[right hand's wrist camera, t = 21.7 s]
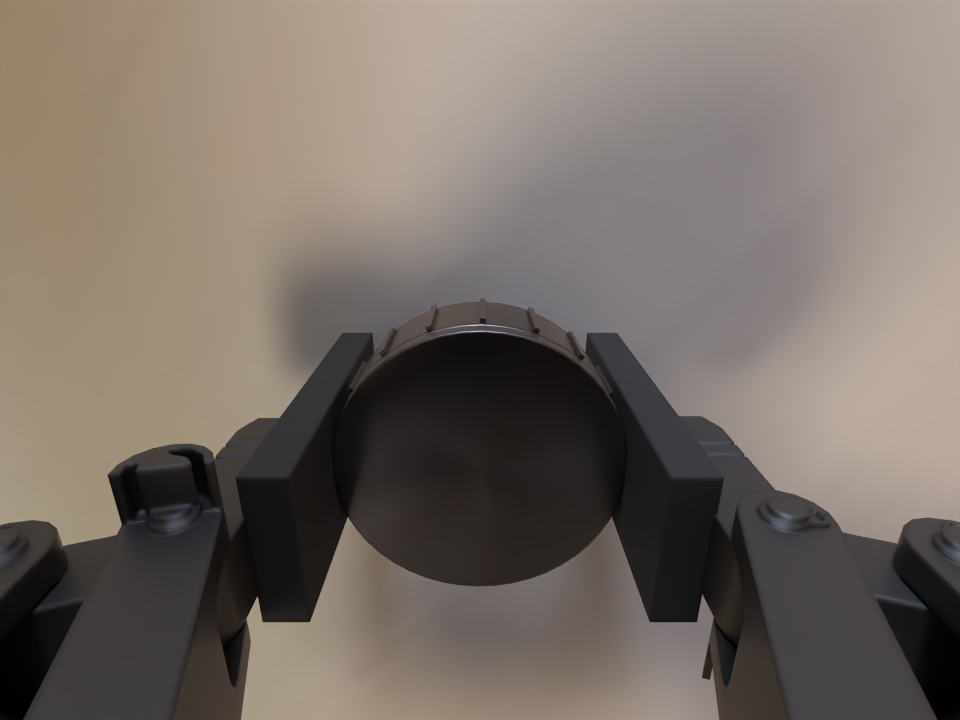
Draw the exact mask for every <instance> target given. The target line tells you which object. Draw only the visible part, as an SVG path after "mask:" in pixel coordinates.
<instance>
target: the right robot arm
mask: <svg viewBox="0 0 960 720" xmlns="http://www.w3.org/2000/svg"><path fill="white" fill-rule="evenodd" d="M373 354H374V347H373V334H372V333H342V335H341V336H340V337H339V339H338V340H337V341H336V343H335V344H334V345H333V347H332V348H331V350H330V351H329V352H328V354H327V355H326V356H325V358H324V359H323V360H322V362H321V363H320V364H319V366H318V367H317V368H316V370H315V371H314V372H313V374H312V375H311V376H310V378H309V379H308V381H307V382H306V383H305V385H304V386H303V387H302V389H301V390H300V391H299V393H298V394H297V395H296V397H295V398H294V399H293V401H292V402H291V403H290V405H289V406H288V407H287V409H286V410H285V412H284V413H283V414H282V416H281V417H280V418H258V419H256V420H254V421H253V422H251V423H249V424H248V425H246V426H244V427H243V428H241V429H239V430H238V431H237V432H236V433H235V434H234V436H233V437H232V438H231V439H230V440H229V441H228V443H227V444H226V447H223V448H222V449H221V451H220V452H219V453H218V454H217V455H216V459H214V457H213V453H212V452H211V451H210V450H209V449H207V448H206V447H204V446H200V445H194V444H173V445H168V446H163V447H158V448H153V449H150V450H148V451H145V452H142V453H139V454H137V455H134V456H132V457H130V458H129V459H127V460H125V461H123V462H122V463H120V464H118V465H117V466H116V467H115V468H114V469H113V470H112V471H111V472H110V473H109V474H108V478H109V481H110V485H111V488H112V492H113V495H114V498H115V502H116V505H117V509H118V512H119V516H120V519H121V523H122V526H121V528H120V530H119V532H118V534H117V535H115V536H111V537H107V538H102V539H97V540H92V541H86V542H81V543H76V544H71V545H66V546H63V545H62V542H61V539H60V537H59V534H58V531H57V528H56V527H54V526H53V525H51V524H50V523H49V522H43V521H34V520H31V521H23V522H16V523H8V524H3V525H1V526H0V720H241V714H242V706H243V698H244V690H245V682H246V674H247V667H248V659H249V651H250V643H251V642H250V635H249V629H248V624H247V619H246V618H247V616H248V614H249V612H250V610H251V608H252V606H253V604H254V602H255V600H256V598H257V596H258V599H259V604H260V610H261V615H262V620H263V622H310V620H311V617H312V615H313V612H314V609H315V606H316V603H317V601H318V598H319V595H320V592H321V590H322V587H323V584H324V581H325V578H326V576H327V573H328V570H329V567H330V564H331V562H332V559H333V556H334V553H335V550H336V548H337V545H338V542H339V539H340V537H341V534H342V531H343V528H344V525H345V523H346V520H347V517H348V516H347V514H346V512H345V510H344V508H343V506H342V503H341V501H340V499H339V496H338V492H337V489H336V486H335V477H334V469H333V459H332V446H333V439H334V433H335V430H336V427H337V423H338V420H339V417H340V415H341V413H342V411H343V408H344V406H345V404H346V402H347V400H348V398H349V396H350V395H351V393H349V392H347V391H348V389H349V387H350V385H351V383H352V381H353V380H354V378H355V376H356V374H357V372H358V370H359V369H360V367H361V365H362V363H363V361H365V362H366V363H368V361H369V360H370V358H371V357H372V355H373ZM586 354H587V355H588V357H589V359H590V360H591V362H592V364H593V365H594V367H596V366H599V368H600V369H601V371H602V373H603V375H604V377H605V378H606V380H607V382H608V384H609V386H610V388H611V389H612V391H613V393H614V395H615V397H613V398H611V399H612V401H613V403H614V404H615V406H616V409H617V411H618V414H619V416H620V418H621V421H622V424H623V428H624V432H625V436H626V440H627V465H626V474H625V482H624V489H623V492H622V494H621V497H620V500H619V503H618V505H617V507H616V509H615V511H614V513H613V514H612V518H613V521H614V524H615V526H616V529H617V532H618V535H619V537H620V540H621V543H622V546H623V549H624V551H625V554H626V557H627V560H628V563H629V565H630V568H631V571H632V574H633V577H634V579H635V582H636V585H637V588H638V591H639V593H640V596H641V599H642V602H643V604H644V607H645V610H646V613H647V616H648V618H649V621H650V622H697V618H698V613H699V608H700V603H701V597H702V594H703V596H704V598H705V600H706V602H707V604H708V606H709V608H710V610H711V612H712V614H713V616H714V619H713V624H712V629H711V634H710V639H709V643H708V648H707V653H706V658H705V663H704V669H703V675H702V678H705V679H709V680H710V676H711V671H712V668H713V673H714V681H715V689H716V697H717V705H718V713H719V720H960V522H956V521H951V520H942V519H934V518H921V519H912V520H911V521H910V522H908V523H907V524H905V525H904V526H903V529H902V532H901V535H900V538H899V541H898V544H896V543H891V542H886V541H881V540H876V539H871V538H866V537H861V536H856V535H851V534H847V533H843V532H842V531H841V529H840V527H839V525H838V524H837V522H836V521H835V520H834V519H833V518H832V516H831V515H830V514H829V513H828V512H827V511H825V510H824V509H822V508H821V507H819V506H818V505H816V504H815V503H813V502H811V501H809V500H806V499H804V498H801V497H799V496H797V495H794V494H789V493H785V492H781V491H777V490H775V489H774V488H773V487H772V486H771V485H770V483H769V482H768V481H767V480H766V479H765V478H764V476H763V475H762V474H761V473H760V472H759V471H758V470H757V468H756V467H755V466H754V465H753V464H752V463H751V461H750V460H749V459H748V458H747V457H744V453H743V452H742V451H741V450H740V449H739V448H738V446H737V445H734V442H733V441H732V439H731V438H730V437H729V436H728V435H727V434H726V432H725V431H724V430H723V429H722V428H720V427H719V426H717V425H715V424H714V423H712V422H710V421H709V420H707V419H705V418H703V417H702V416H678V415H677V413H676V412H675V411H674V409H673V408H672V407H671V405H670V404H669V403H668V401H667V400H666V399H665V397H664V396H663V395H662V393H661V392H660V390H659V389H658V388H657V386H656V385H655V384H654V382H653V381H652V380H651V378H650V377H649V376H648V374H647V373H646V372H645V370H644V369H643V368H642V366H641V365H640V364H639V362H638V361H637V359H636V358H635V357H634V355H633V354H632V353H631V351H630V350H629V349H628V347H627V346H626V345H625V343H624V342H623V341H622V339H621V338H620V337H619V335H618V334H617V333H587V343H586Z"/></svg>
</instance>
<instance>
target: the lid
mask: <svg viewBox="0 0 960 720" xmlns="http://www.w3.org/2000/svg"><path fill="white" fill-rule="evenodd" d="M347 392H349V393H351V395H350V396H349V398H348V400H347V402H346V404H345V406H344V408H343V411H342V413H341V415H340V417H339V420H338V423H337V427H336V430H335V433H334V439H333V446H332V459H333V469H334V477H335V486H336V489H337V492H338V496H339V499H340V501H341V503H342V506H343V508H344V510H345V512H346V514H347V516H348V517H349V519H350V520H351V522H352V523H353V525H354V526H355V528H356V529H357V530H358V531H359V533H360V534H361V535H362V536H363V537H364V538H365V539H366V541H367V542H368V543H369V544H371V545H372V546H373V547H374V548H375V549H376V550H377V551H378V552H380V553H381V554H382V555H384V556H385V557H387V558H388V559H389V560H391V561H392V562H394V563H396V564H397V565H399V566H401V567H403V568H405V569H407V570H409V571H411V572H413V573H416V574H418V575H421V576H423V577H426V578H429V579H433V580H436V581H440V582H444V583H450V584H456V585H465V586H496V585H503V584H510V583H515V582H519V581H523V580H527V579H530V578H533V577H536V576H539V575H541V574H544V573H546V572H549V571H551V570H553V569H555V568H557V567H559V566H561V565H562V564H564V563H565V562H567V561H568V560H570V559H572V558H573V557H575V556H576V555H577V554H578V553H580V552H581V551H582V550H583V549H585V548H586V547H587V546H588V545H589V544H590V543H591V542H592V541H593V540H594V539H595V538H596V537H597V536H598V535H599V534H600V532H601V531H602V530H603V528H604V527H605V525H606V524H607V523H608V521H609V520H610V518H611V516H612V514H613V513H614V511H615V509H616V507H617V505H618V503H619V500H620V497H621V494H622V492H623V489H624V482H625V474H626V465H627V440H626V436H625V432H624V428H623V424H622V421H621V418H620V416H619V414H618V411H617V409H616V406H615V404H614V403H613V401H612V399H611V398H613V397H615V395H614V393H613V391H612V389H611V388H610V386H609V384H608V382H607V380H606V378H605V377H604V375H603V373H602V371H601V369H600V368H599V366H596V367H594V365H593V364H592V362H591V360H590V359H589V357H588V355H587V354H586V353H585V351H584V350H583V349H582V348H581V347H580V345H579V344H578V342H577V340H576V338H575V336H574V334H573V333H572V332H571V331H569V332H568V333H566V332H565V331H564V330H563V329H561V328H560V327H558V326H557V325H555V324H554V323H552V322H551V321H549V320H547V319H545V318H543V317H541V316H539V315H537V314H535V312H534V309H532V308H530V307H529V308H528V310H524V309H522V308H519V307H514V306H510V305H505V304H500V303H488V302H485V299H480V302H472V303H461V304H455V305H449V306H445V307H442V308H438V309H437V306H433V307H431V310H430V311H429V312H427V313H425V314H423V315H420V316H418V317H416V318H414V319H412V320H411V321H409V322H407V323H406V324H404V325H403V326H401V327H400V328H398V329H397V330H396V329H395V328H392V329H391V330H390V332H389V334H388V336H387V338H386V340H385V341H384V342H383V343H382V344H381V345H380V346H379V347H378V348H377V350H376V351H375V352H374V354H373V355H372V357H371V358H370V360H369V361H368V363H366V362H365V361H363V363H362V365H361V367H360V369H359V370H358V372H357V374H356V376H355V378H354V380H353V381H352V383H351V385H350V387H349V389H348V391H347Z"/></svg>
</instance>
